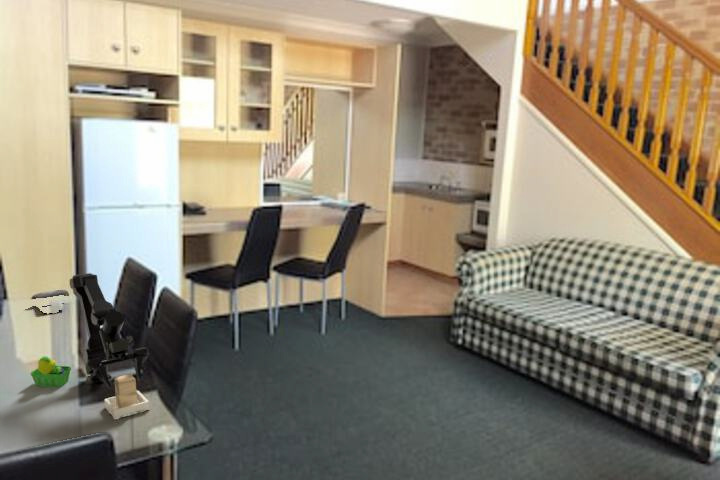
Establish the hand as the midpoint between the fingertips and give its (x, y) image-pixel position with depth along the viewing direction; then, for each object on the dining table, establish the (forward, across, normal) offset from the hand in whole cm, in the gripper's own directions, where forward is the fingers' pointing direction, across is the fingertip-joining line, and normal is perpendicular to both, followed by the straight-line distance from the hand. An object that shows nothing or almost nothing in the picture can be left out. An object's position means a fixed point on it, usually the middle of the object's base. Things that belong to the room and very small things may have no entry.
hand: (125, 384), depth 186 cm
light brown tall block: (+6, 0, +5) cm, 8 cm away
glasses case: (-95, +6, +109) cm, 145 cm away
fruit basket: (-19, -15, +32) cm, 40 cm away
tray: (+6, 0, +6) cm, 8 cm away
